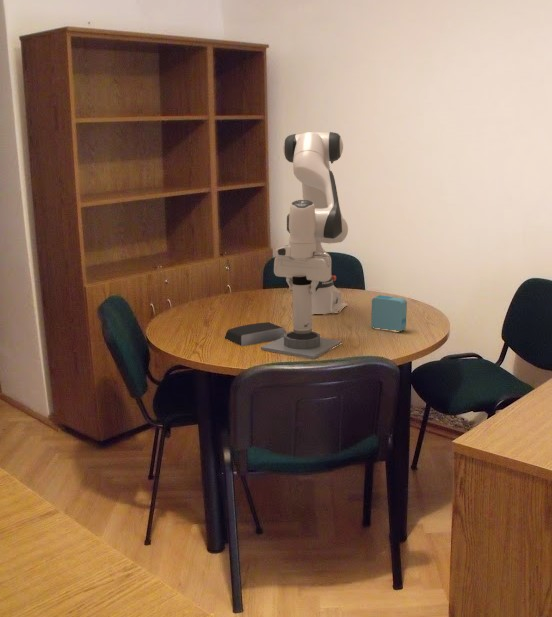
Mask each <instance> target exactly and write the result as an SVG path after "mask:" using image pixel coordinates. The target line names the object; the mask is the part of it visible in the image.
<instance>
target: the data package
mask: <svg viewBox="0 0 552 617" xmlns="http://www.w3.org/2000/svg"><path fill="white" fill-rule="evenodd" d="M407 304H408V302H407V300H406V299H405V298H403V297H397V296H389V295H377V296H374V297H373V298H372V299H371V310H370V311H371V319H370V326H371V328H372V327H374V328H380V329H388V330H396V331H401V332H403V331H404V330H406V329H407V314H408V312H407V310H408V308H407V307H408V305H407ZM403 329H404V330H403ZM402 330H403V331H402Z"/></svg>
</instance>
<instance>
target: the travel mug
mask: <svg viewBox="0 0 552 617" xmlns="http://www.w3.org/2000/svg"><path fill="white" fill-rule="evenodd" d="M292 279H293V280H292V282H293V283H292V285H293V286H292V287H293V291H292V319H293V320H292V324H293V328H292V329H293V330H292V331H294V332H295V333H297V334H308V333H311V332H313V314H312V294H311V293H309V288H311V280H307V278H306V276H304V277H292Z"/></svg>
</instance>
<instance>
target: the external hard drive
mask: <svg viewBox="0 0 552 617" xmlns="http://www.w3.org/2000/svg"><path fill="white" fill-rule="evenodd" d="M285 333H288V332H287V330H286V328H285V327H282V326H280V325H277V324H276V323H275V324H274V323H272V322H256V323H251V324H245V325H241V326H237V327H233V328H229V329H228V330H227V331H226V333H225V336H224V339H225V340H227V339H228V340H227V341H229V340H230V341H229V342H231V341H232V342H231V343H234V342H235V343H234V344H236V345H238V346H241V347H244V346H252V345H257V344H263V343H268V342H269V343H270V342H273V341H275V340H277V339H280V338H282V337H284V334H285Z"/></svg>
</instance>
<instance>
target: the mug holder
mask: <svg viewBox="0 0 552 617" xmlns="http://www.w3.org/2000/svg"><path fill="white" fill-rule="evenodd" d="M340 343H342V344H343V341H342V340H338V339H330V338H326V337H321V334H320V333H319V332H316V331H312V332H311V333H308V334H297V333H295V332H294V331H293V330H292V331H289V332H287V333H285V334H284V337H282V338H280V339H277V340H273V341H270V342H269V343H266V344H264V345H262V346H260V350H261V351H266V352H270V353H271V352H272V353H276V354H281V355H282V354H283V355H288V356H294V357H297V358H298V357H299V358H304V359H308V360H309V359H310V360H315V359H317V358H319V357H320V356H323V355H324V354H326V353H328V352H330V351H331V350H330V349H332V348H333V347H335V346H337V345H339V344H340ZM339 346H340V345H339ZM337 347H338V346H337ZM329 350H330V351H329ZM332 350H333V349H332ZM327 351H328V352H327ZM325 352H326V353H325Z"/></svg>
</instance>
